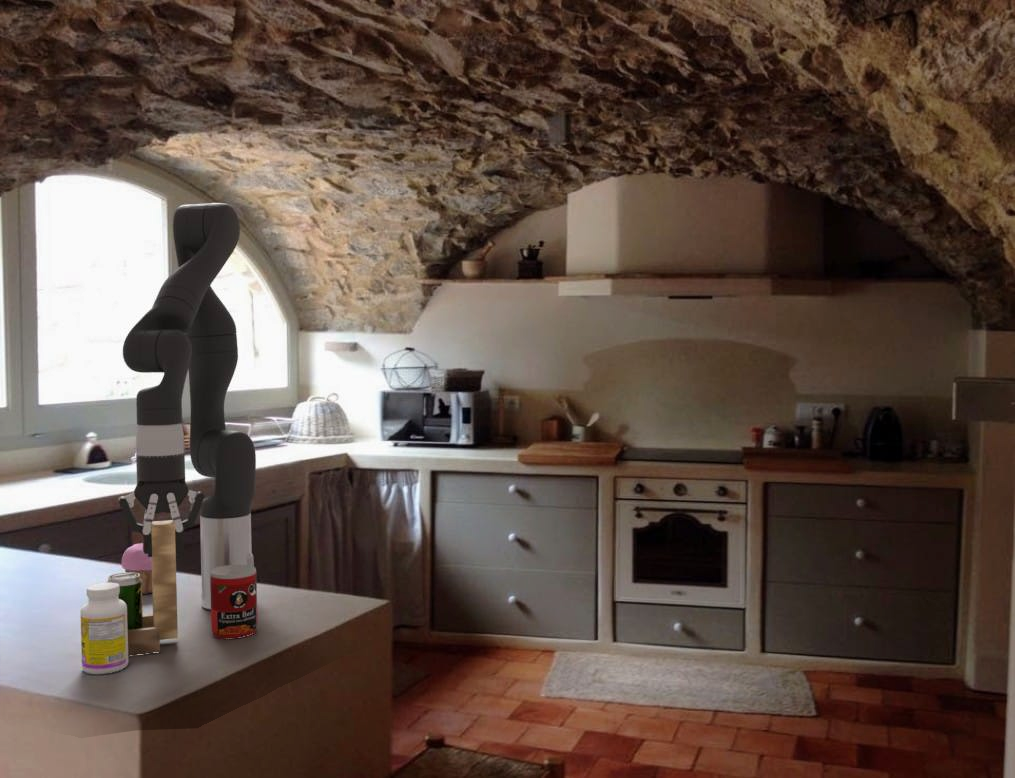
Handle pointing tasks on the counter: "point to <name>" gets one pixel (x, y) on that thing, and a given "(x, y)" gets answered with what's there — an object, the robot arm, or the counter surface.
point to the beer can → (130, 596)
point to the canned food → (233, 601)
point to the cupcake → (139, 565)
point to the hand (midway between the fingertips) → (163, 554)
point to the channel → (144, 638)
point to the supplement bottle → (104, 630)
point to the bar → (164, 579)
